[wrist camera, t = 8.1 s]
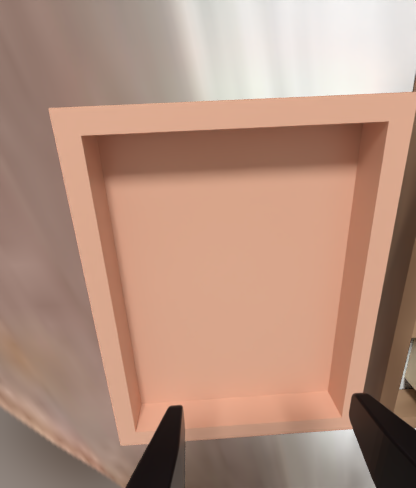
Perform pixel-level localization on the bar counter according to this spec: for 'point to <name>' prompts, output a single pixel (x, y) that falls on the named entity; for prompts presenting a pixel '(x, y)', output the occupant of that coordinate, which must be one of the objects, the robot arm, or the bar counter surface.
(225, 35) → the bar counter surface
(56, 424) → the bar counter surface
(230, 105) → the tray
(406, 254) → the frame
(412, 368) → the block
